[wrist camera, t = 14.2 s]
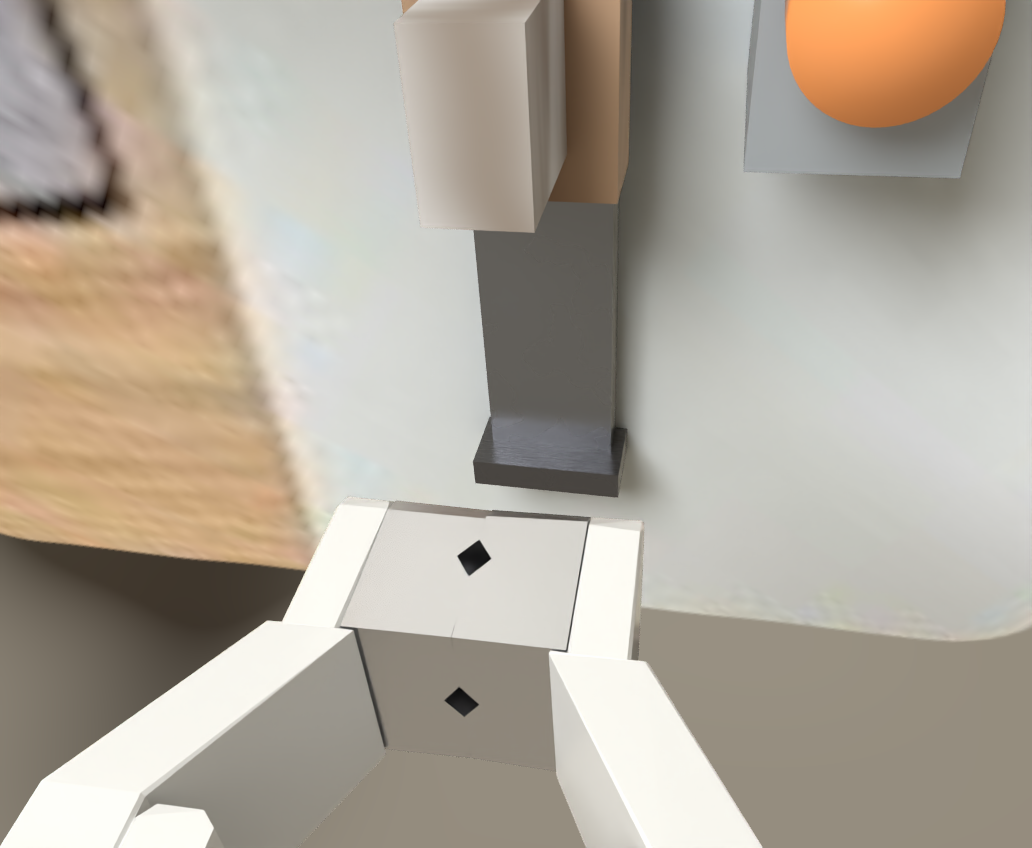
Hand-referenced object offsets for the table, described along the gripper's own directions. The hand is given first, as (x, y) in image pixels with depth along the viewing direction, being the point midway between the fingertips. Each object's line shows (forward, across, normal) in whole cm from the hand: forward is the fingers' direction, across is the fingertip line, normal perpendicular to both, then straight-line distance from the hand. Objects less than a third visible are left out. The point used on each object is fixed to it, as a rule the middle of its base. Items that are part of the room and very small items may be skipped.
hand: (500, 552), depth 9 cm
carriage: (+22, +3, +1) cm, 23 cm away
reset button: (+16, -5, -1) cm, 17 cm away
